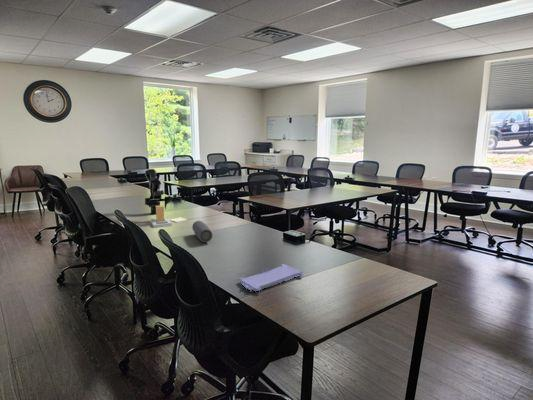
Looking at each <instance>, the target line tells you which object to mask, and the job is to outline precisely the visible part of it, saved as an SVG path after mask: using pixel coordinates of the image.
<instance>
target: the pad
mask: <svg viewBox="0 0 533 400" xmlns="http://www.w3.org/2000/svg"><path fill="white" fill-rule="evenodd" d="M169 220H170V221H171V222H173V221H174V223H182V222H185V221H188V219H187V218H184V217H180V216H179V217H175V218H169Z"/></svg>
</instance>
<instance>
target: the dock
mask: <svg viewBox="0 0 533 400" xmlns="http://www.w3.org/2000/svg"><path fill="white" fill-rule="evenodd" d="M150 223H151V225H152V227H153V228H163V227H171V226H172V227H173V222H172V221H170V218H169V217H164V221H160V222H157V219H156V218H150Z"/></svg>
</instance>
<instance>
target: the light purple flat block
mask: <svg viewBox="0 0 533 400" xmlns="http://www.w3.org/2000/svg"><path fill="white" fill-rule="evenodd" d="M297 275H300V277H303V276H304V273H303V272H302V271H301V270H298V269H296V268H294V267H292V266H289V265H288V264H284V263H281V264H280V266H278V267H274V268H273V269H271V268H270V267H268V270H267V268H264V269H263V272H262V269H261V270H259V273H258V274H254V275H251V276H247V277H241V276H239V278H238V281H239V280H240V281H239V283H240V282H242V283H243V284H242V285H243V286H244V287H246V288H248V289H250V290H252V289H254V290H255V289H256V290H257V291H259V292H261V291H262V290H261V287H264V286H267V285H270V284H273V283H276V282H279V281H282V280H286V279H289V278H292V277H295V276H297ZM242 285H241V286H242ZM244 287H243V288H244ZM260 290H261V291H260Z"/></svg>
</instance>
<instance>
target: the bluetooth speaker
mask: <svg viewBox="0 0 533 400" xmlns="http://www.w3.org/2000/svg"><path fill="white" fill-rule="evenodd" d="M191 228H192V231H193V233H194V234H195V236H196V237H197V239H199V241H201V242H202V243H208V242H210V241H211V240H212V239H213V231H212V230H211V229H210V228H209V226H208V225H207V224H205V222H204V221H201V220H196V221H195V222H193V224H192V227H191Z"/></svg>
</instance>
